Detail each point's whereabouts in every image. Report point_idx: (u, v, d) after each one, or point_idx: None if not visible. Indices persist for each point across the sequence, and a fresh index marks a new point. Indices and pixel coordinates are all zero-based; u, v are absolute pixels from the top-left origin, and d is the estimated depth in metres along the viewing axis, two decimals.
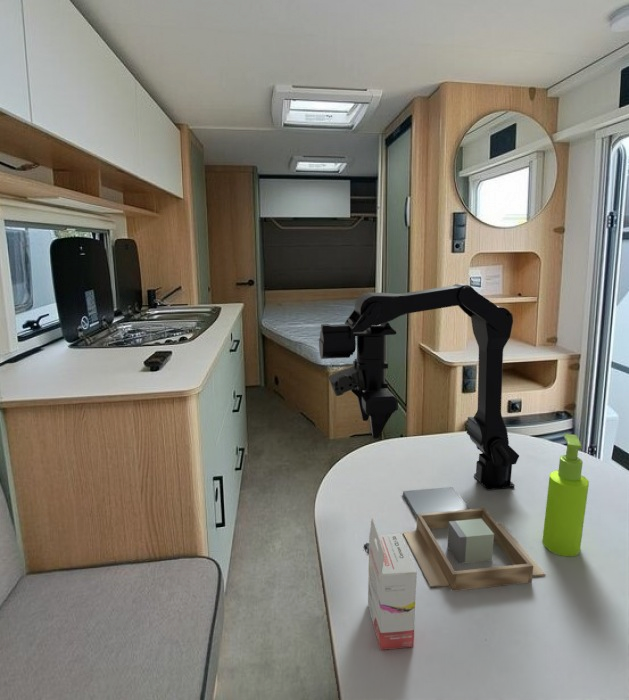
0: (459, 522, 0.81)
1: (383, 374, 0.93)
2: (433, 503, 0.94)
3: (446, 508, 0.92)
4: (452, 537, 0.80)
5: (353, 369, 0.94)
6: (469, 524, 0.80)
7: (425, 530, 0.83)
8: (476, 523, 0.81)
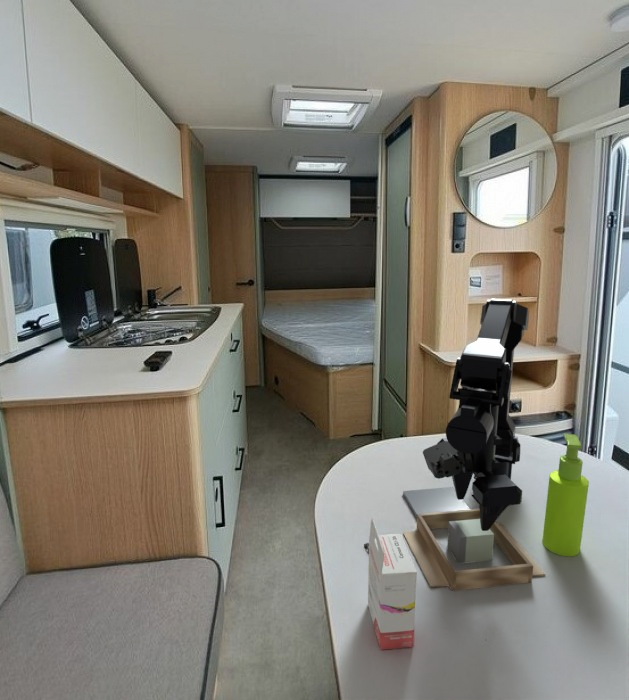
0: (459, 522, 0.81)
1: (494, 451, 0.75)
2: (433, 503, 0.94)
3: (446, 508, 0.92)
4: (452, 537, 0.80)
5: None
6: (469, 524, 0.80)
7: (425, 530, 0.83)
8: (476, 523, 0.81)
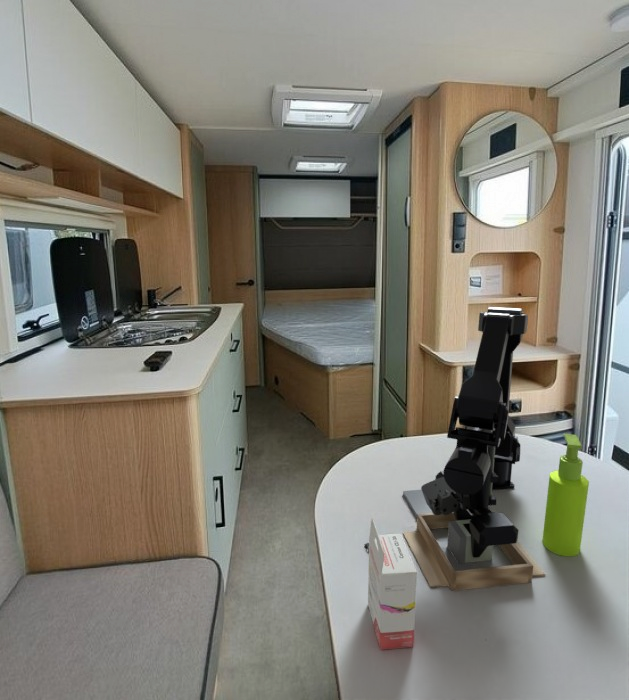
0: (459, 522, 0.81)
1: (491, 488, 0.76)
2: None
3: None
4: (452, 536, 0.80)
5: None
6: None
7: (425, 530, 0.83)
8: None
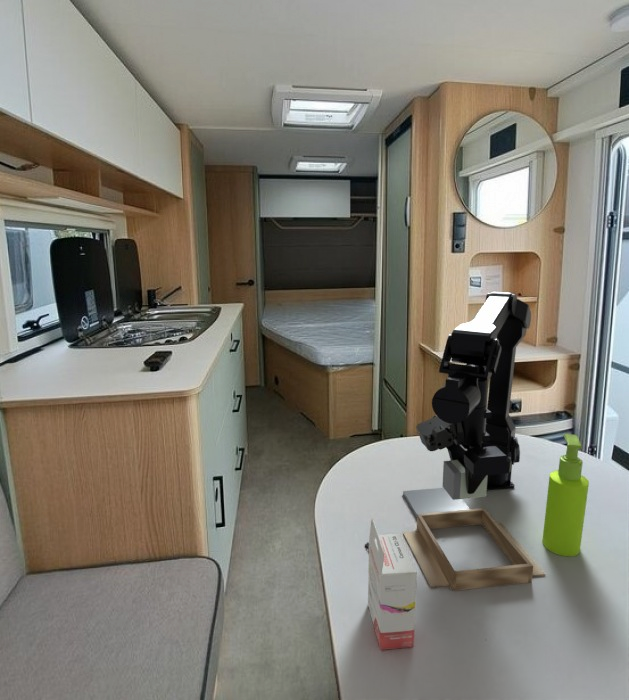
0: (454, 461, 0.82)
1: (485, 424, 0.77)
2: (433, 503, 0.94)
3: (446, 508, 0.92)
4: (447, 475, 0.81)
5: None
6: None
7: (425, 530, 0.83)
8: None
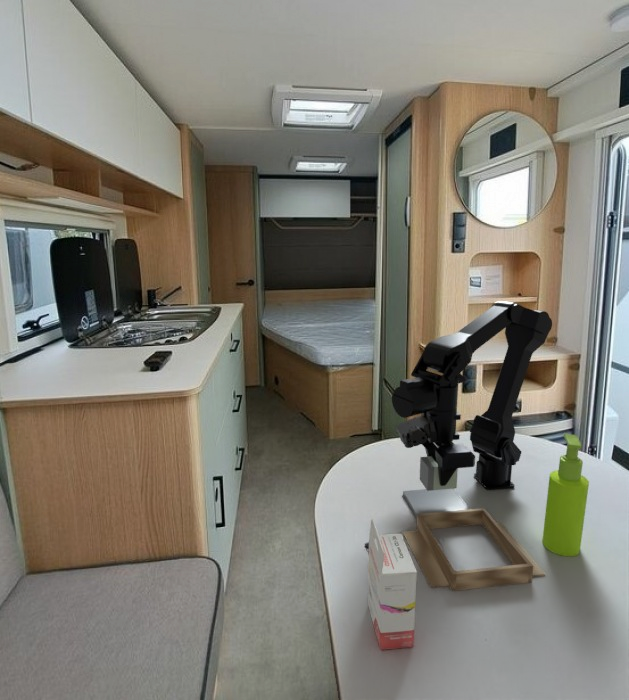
0: (429, 457, 0.94)
1: (455, 425, 0.89)
2: (433, 503, 0.94)
3: (446, 508, 0.92)
4: (423, 469, 0.93)
5: (423, 419, 0.90)
6: None
7: (425, 530, 0.83)
8: None
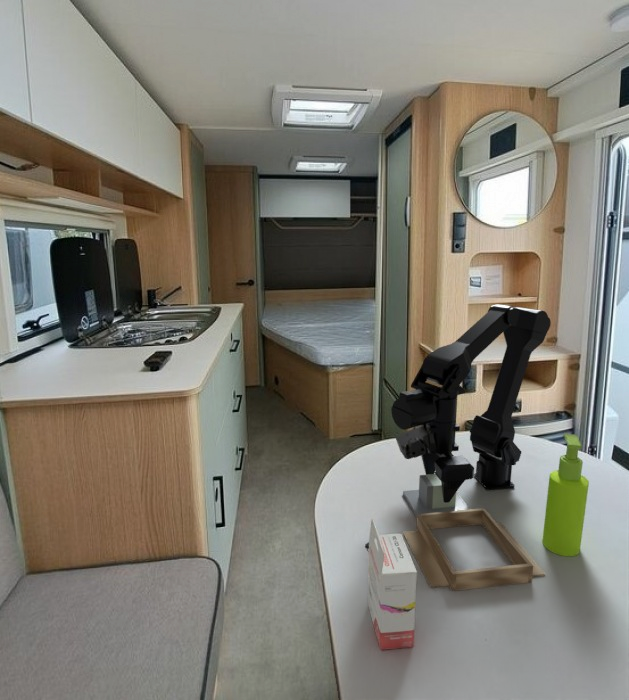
0: (428, 475, 0.95)
1: (454, 436, 0.90)
2: None
3: (446, 508, 0.92)
4: (422, 487, 0.94)
5: (423, 430, 0.91)
6: (436, 477, 0.95)
7: (425, 530, 0.83)
8: None
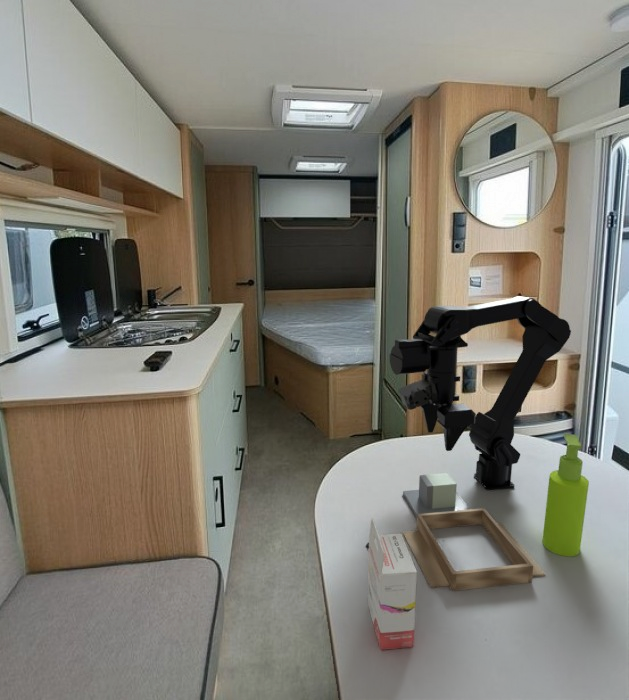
0: (428, 475, 0.95)
1: (455, 387, 0.93)
2: None
3: (446, 508, 0.92)
4: (422, 487, 0.94)
5: (424, 382, 0.94)
6: (436, 477, 0.95)
7: (425, 530, 0.83)
8: (442, 476, 0.95)
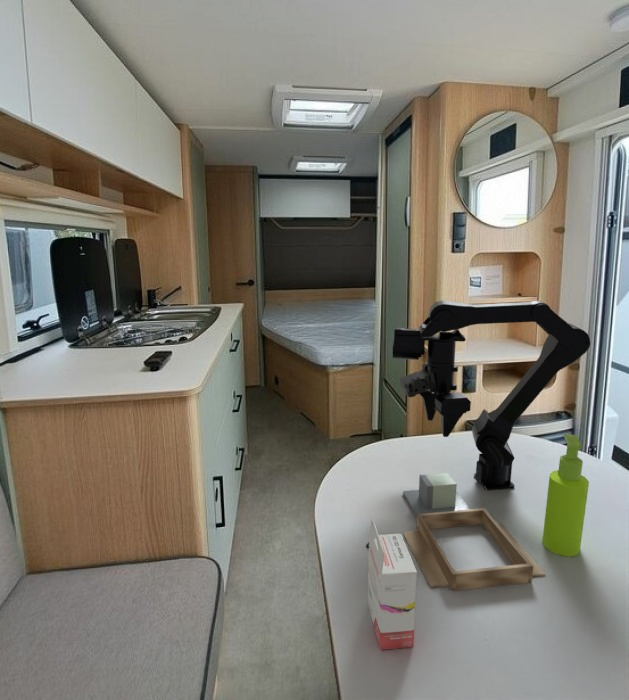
0: (428, 475, 0.95)
1: (452, 377, 0.99)
2: None
3: (446, 508, 0.92)
4: (422, 487, 0.94)
5: (424, 372, 1.00)
6: (436, 477, 0.95)
7: (425, 530, 0.83)
8: (442, 476, 0.95)
